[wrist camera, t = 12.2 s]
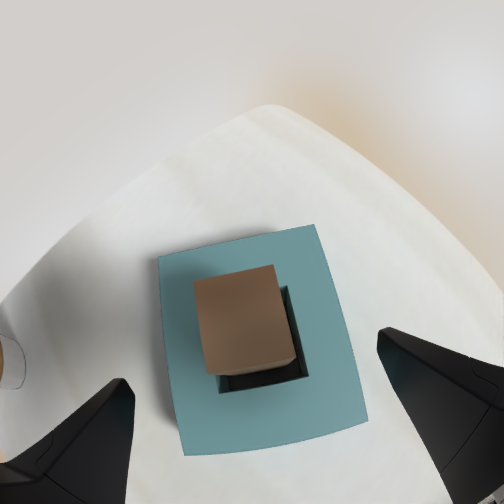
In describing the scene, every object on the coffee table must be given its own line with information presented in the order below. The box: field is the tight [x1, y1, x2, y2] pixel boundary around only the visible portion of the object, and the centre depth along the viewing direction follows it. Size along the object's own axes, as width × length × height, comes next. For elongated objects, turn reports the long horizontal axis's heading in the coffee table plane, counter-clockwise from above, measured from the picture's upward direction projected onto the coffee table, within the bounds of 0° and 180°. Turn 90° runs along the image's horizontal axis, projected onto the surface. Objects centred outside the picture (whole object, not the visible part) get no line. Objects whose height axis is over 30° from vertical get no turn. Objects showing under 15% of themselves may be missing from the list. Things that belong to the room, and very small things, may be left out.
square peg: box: [193, 264, 296, 375], centre depth 15 cm, size 4×4×10 cm
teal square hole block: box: [158, 224, 368, 456], centre depth 18 cm, size 14×12×4 cm
